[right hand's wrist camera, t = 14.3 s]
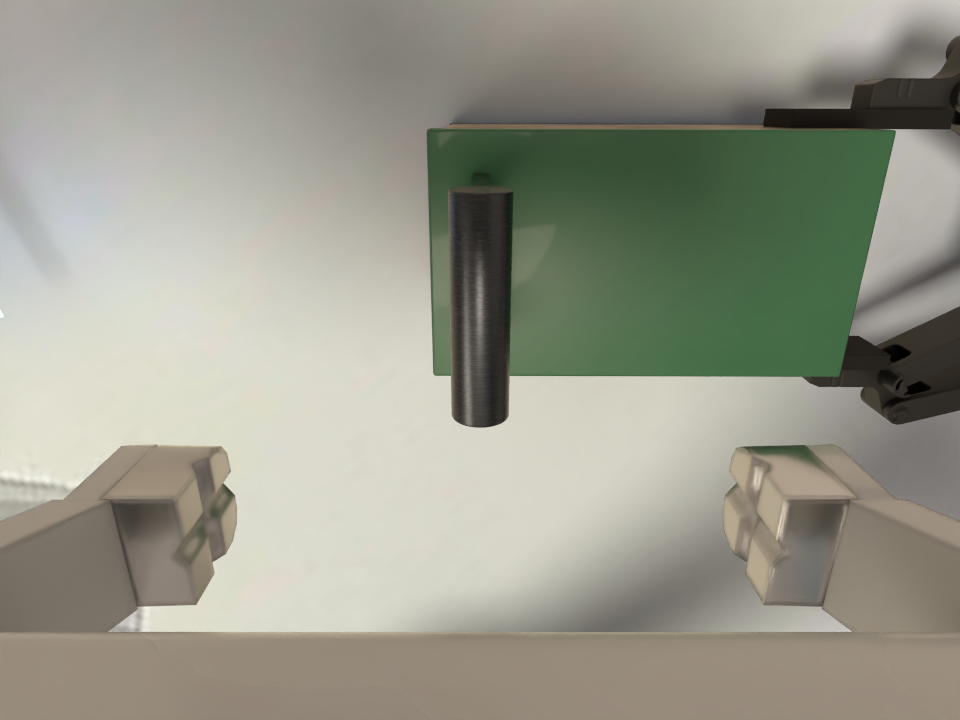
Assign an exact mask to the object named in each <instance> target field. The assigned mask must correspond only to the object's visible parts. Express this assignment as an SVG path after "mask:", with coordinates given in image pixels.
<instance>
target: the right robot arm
mask: <svg viewBox="0 0 960 720" xmlns="http://www.w3.org/2000/svg"><path fill="white" fill-rule="evenodd" d="M1 317H4V316H3V314H2V313H1V311H0V318H1ZM230 472H231V470H230V465H229V460H228V455H227V452H226V451H225V450H224V449H223V448H222V447H221V446H172V445H160V446H158V445H128V446H121V447H120V448H119V449H118V450H117V451H116V452H115V453H114V454H112V455H111V456H110V457H109V458H108V459H107V460H106V461H105V462H104V463H103V464H102V465H100V466H99V467H98V468H97V469H96V470H95V471H94V472H93V473H92V474H91V475H90V476H89V477H87V478H86V479H85V480H84V481H83V482H82V483H81V484H80V485H79V486H78V487H77V488H75V489H74V490H73V491H72V492H71V493H70V494H69V495H68V496H67V497H66V498H65V499H64V500H51V501H49V502H46V503H44V504H41V505H39V506H37V507H34V508H32V509H29V510H27V511H24V512H22V513H19V514H17V515H14V516H12V517H10V518H7V519H5V520H2V521H0V720H960V521H958V520H955V519H953V518H950V517H948V516H945V515H943V514H941V513H938V512H936V511H933V510H931V509H928V508H926V507H923V506H921V505H919V504H916V503H914V502H911V501H909V500H897V499H895V498H894V497H893V496H892V495H891V494H890V493H889V492H888V491H887V490H886V489H885V488H884V487H882V486H881V485H880V484H879V483H878V482H877V481H876V480H875V479H874V478H873V477H872V476H871V475H869V474H868V473H867V472H866V471H865V470H864V469H863V468H862V467H861V466H860V465H859V464H858V463H856V462H855V461H854V460H853V459H852V458H851V457H850V456H849V455H848V454H847V453H846V452H845V451H843V450H842V449H841V448H840V447H838V446H835V445H831V444H830V445H807V446H805V445H793V446H751V447H739V448H736V449H735V451H734V454H733V456H732V459H731V464H730V470H729V472H730V473H731V475H732V476H733V478H734V479H735V481H736V483H737V484H736V485H735V486H734V487H733V488H732V489H731V490H730V491H729V492H728V493H727V494H726V495H725V500H724V508H723V522H724V531H725V534H726V537H727V541H728V543H729V545H730V547H731V549H732V551H733V552H734V554H735V555H737V556H739V557H740V558H742V559H743V560H745V561H747V562H748V563H747V568H746V575H747V577H748V579H749V580H750V582H751V584H752V585H753V587H754V589H755V591H756V592H757V594H758V596H759V597H760V599H761V601H762V603H763V604H764V605H785V606H822V607H823V608H822V609H823V610H824V611H826V612H827V613H828V614H830V615H831V616H832V617H834V618H835V619H836V620H838V621H839V622H840V623H842V624H843V625H844V626H846V627H847V628H848V629H850V630H851V631H852V632H108V631H109V630H111V629H112V628H113V627H115V626H116V625H117V624H119V623H120V622H121V621H123V620H124V619H125V618H127V617H128V616H129V615H131V614H132V613H133V612H135V611H136V610H137V609H138V608H137V606H173V605H196V604H197V603H198V601H199V599H200V598H201V596H202V594H203V592H204V591H205V589H206V587H207V586H208V584H209V582H210V580H211V579H212V577H213V575H214V568H213V563H212V562H213V561H215V560H217V559H218V558H220V557H221V556H223V555H225V554H226V552H227V551H228V549H229V547H230V545H231V543H232V541H233V538H234V533H235V529H236V525H237V506H236V499H235V495H234V494H233V493H232V492H231V491H230V490H229V489H228V488H227V487H226V486H225V485H224V484H223V483H224V481H225V479H226V478H227V476H228V475H229V473H230Z"/></svg>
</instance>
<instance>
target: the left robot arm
mask: <svg viewBox="0 0 960 720" xmlns="http://www.w3.org/2000/svg"><path fill="white" fill-rule="evenodd" d="M946 59H947V61H946V63H945V65H944V67H943V68H942V69H941V71H940V72H939V73H938V74H937V75H935V76H934V77H932V78H930V79H901V78H887V79H874V80H867V81H864V82H862V83H859V84H857V85H855V89H854V93H853V98H852V103H851V108H850V109H766V111H765V117H764V124H763V126H764V127H782V128H863V129H952V130H953V131H955V132H956V133H957V134H959V135H960V36H957V37H956V38H954V39H953V40H952V41H951V42H950V44H949V45H948V47H947V50H946ZM803 378H804V379H805V380H807V381H808V382H809V383H811V384H813V385H816V386H818V387H830V386H831V387H839V386H840V387H864V388H863V389H862V391H861V395H860V396H861V399H862V400H863V401H864V402H865V403H866V404H868V405H869V406H870V407H871V408H873V409H874V410H875V411H877V412H878V413H879V414H881V415H882V416H883V417H885V418H886V419H887V420H889V421H890V422H891V423H893V424H904V423H908V422H912V421H916V420H921V419H925V418H929V417H933V416H937V415H942V414H946V413H950V412H954V411H958V410H960V307H958V308H956V309H953V310H951V311H949V312H947V313H945V314H943V315H941V316H939V317H936V318H934V319H932V320H930V321H928V322H926V323H924V324H922V325H919V326H917V327H915V328H913V329H911V330H909V331H907V332H905V333H902V334H900V335H898V336H896V337H894V338H892V339H890V340H888V341H886V342H883V343H881V344H879V345H877V346H875V345H873V344H871V343H870V342H868V341H866V340H864V339H863V338H861V337H859V336H849V337H848V341H847V346H846V350H845V354H844V358H843V363H842V367H841V371H840V375H839V376H838V377H803Z"/></svg>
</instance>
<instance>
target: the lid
mask: <svg viewBox="0 0 960 720" xmlns="http://www.w3.org/2000/svg"><path fill="white" fill-rule="evenodd" d="M895 134H896V131H894V130H884V129H589V128H431V129H428V130H427V159H428V195H429V232H430V268H431V304H432V341H433V374H434V375H436V376H451V396H452V417H453V418H454V420H455V421H457V422H458V423H460V424H462V425H465V426H470V427H491V426H495V425H498V424H501V423H502V422H504V421H505V420H506V419H507V418H508V415H509V376H769V377H838V376H839V375H840V371H841V367H842V363H843V358H844V354H845V350H846V346H847V341H848V337H849V333H850V328H851V324H852V320H853V315H854V311H855V307H856V302H857V298H858V294H859V289H860V285H861V281H862V276H863V272H864V268H865V263H866V259H867V255H868V250H869V246H870V242H871V237H872V233H873V229H874V224H875V220H876V216H877V212H878V207H879V203H880V199H881V194H882V190H883V186H884V181H885V177H886V173H887V168H888V164H889V160H890V155H891V151H892V147H893V142H894V138H895Z"/></svg>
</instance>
